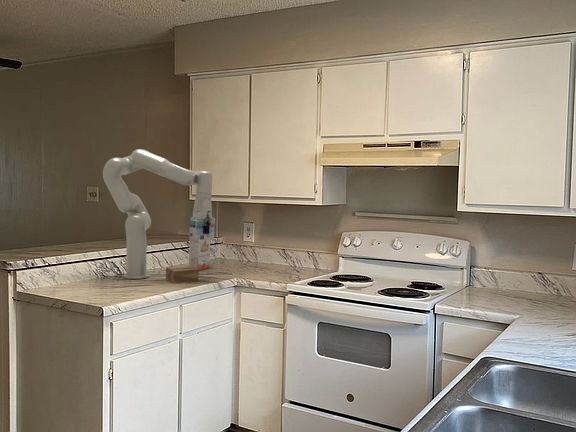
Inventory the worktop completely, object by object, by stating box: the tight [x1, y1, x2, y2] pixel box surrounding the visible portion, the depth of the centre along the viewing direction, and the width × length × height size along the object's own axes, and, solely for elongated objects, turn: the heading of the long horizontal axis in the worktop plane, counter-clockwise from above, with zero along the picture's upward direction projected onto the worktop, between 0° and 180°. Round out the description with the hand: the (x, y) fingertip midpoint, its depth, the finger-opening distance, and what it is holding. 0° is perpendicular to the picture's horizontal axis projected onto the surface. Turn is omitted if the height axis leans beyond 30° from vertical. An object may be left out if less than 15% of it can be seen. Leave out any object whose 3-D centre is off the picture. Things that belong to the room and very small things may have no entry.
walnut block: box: [165, 265, 200, 284], centre depth 288 cm, size 12×12×6 cm
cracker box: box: [188, 239, 211, 271], centre depth 324 cm, size 14×6×21 cm, turn 161°
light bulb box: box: [188, 216, 216, 241], centre depth 292 cm, size 11×7×11 cm, turn 128°
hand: (201, 232), depth 292 cm, fingers closed on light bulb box, 6 cm apart
